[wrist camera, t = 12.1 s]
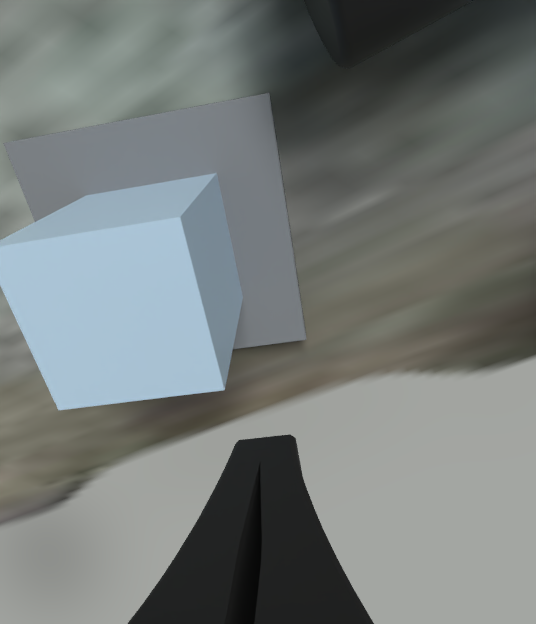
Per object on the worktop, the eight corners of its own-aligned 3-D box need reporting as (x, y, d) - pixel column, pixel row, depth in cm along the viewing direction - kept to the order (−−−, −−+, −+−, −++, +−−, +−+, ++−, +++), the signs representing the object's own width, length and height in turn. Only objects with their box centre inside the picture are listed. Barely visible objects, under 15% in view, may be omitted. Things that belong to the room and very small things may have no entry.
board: (269, 92, 16) (268, 92, 15) (305, 328, 21) (306, 339, 20) (17, 140, 17) (3, 143, 16) (101, 356, 22) (93, 367, 21)
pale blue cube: (216, 173, 17) (180, 217, 11) (243, 297, 19) (224, 389, 13) (86, 195, 17) (-17, 248, 11) (126, 314, 20) (58, 410, 14)
